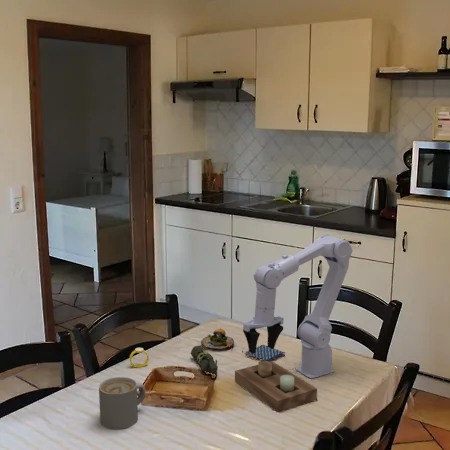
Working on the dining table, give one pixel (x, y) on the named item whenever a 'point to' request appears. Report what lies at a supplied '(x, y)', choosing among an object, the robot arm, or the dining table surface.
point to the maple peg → (264, 369)
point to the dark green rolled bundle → (204, 359)
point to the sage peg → (287, 383)
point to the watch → (139, 350)
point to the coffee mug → (119, 402)
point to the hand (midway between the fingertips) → (261, 350)
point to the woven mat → (265, 354)
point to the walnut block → (275, 388)
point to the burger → (218, 340)
